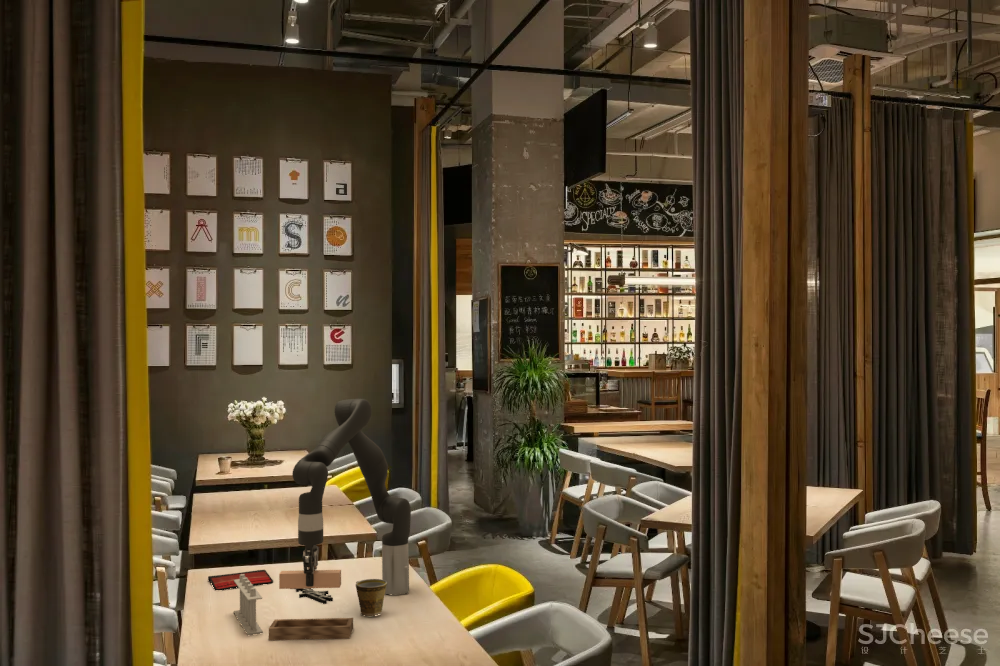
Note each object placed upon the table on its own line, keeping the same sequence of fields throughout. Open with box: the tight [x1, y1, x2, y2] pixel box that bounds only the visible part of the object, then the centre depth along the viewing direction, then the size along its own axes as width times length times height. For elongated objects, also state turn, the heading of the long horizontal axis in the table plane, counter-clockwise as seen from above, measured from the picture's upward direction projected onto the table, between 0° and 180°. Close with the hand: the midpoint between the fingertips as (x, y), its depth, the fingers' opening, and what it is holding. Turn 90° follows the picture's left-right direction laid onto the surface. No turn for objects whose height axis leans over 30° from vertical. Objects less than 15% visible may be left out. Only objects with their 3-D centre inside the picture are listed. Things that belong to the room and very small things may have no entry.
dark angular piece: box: [295, 588, 334, 605], centre depth 310 cm, size 28×2×10 cm
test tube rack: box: [233, 574, 264, 636], centre depth 279 cm, size 25×4×13 cm, turn 26°
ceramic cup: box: [355, 578, 387, 617], centre depth 288 cm, size 13×10×10 cm
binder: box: [207, 569, 274, 591], centre depth 326 cm, size 16×2×21 cm
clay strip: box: [278, 569, 342, 590], centre depth 268 cm, size 18×4×4 cm, turn 92°
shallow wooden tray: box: [268, 617, 354, 641], centre depth 268 cm, size 24×9×3 cm, turn 92°
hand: (311, 584), depth 268 cm, fingers closed on clay strip, 3 cm apart
